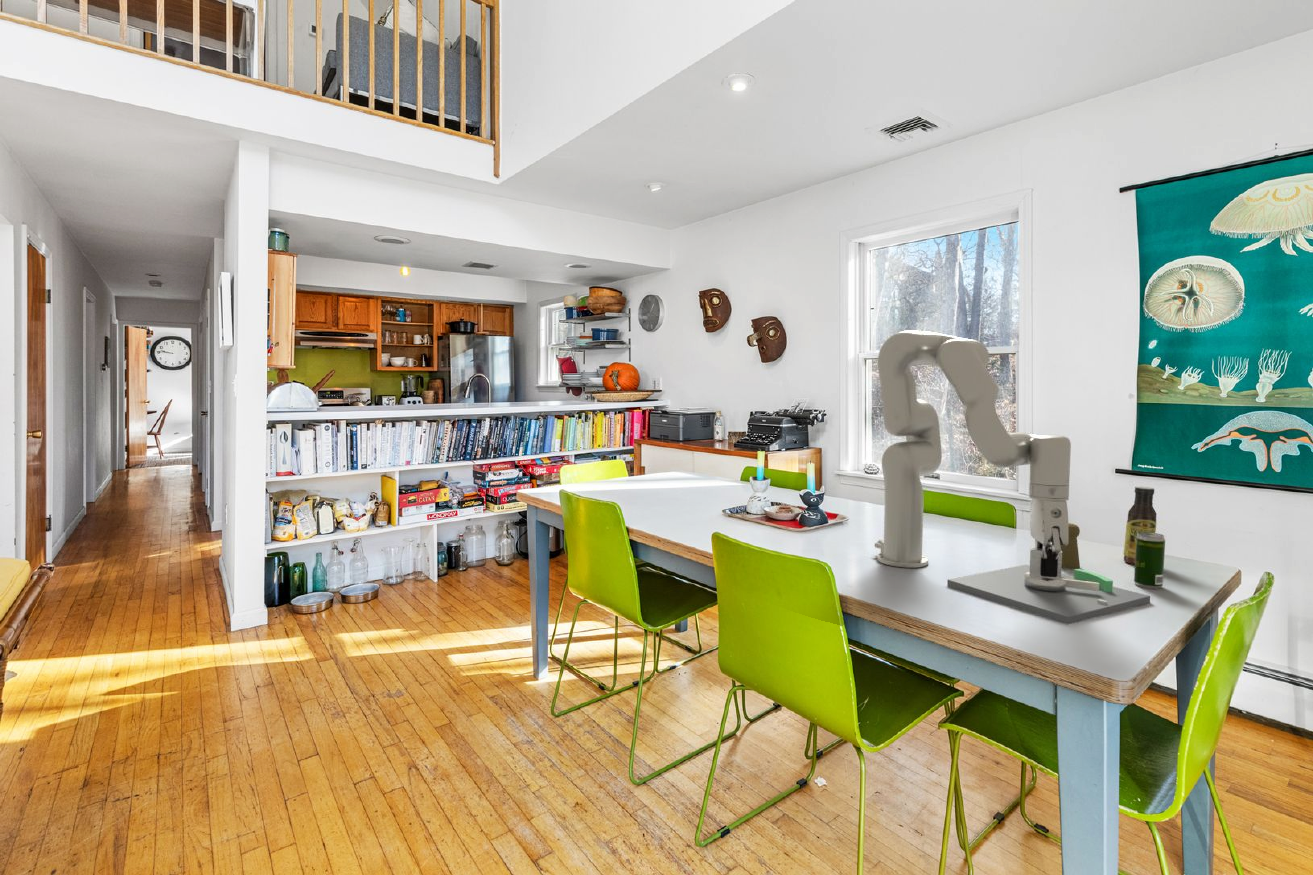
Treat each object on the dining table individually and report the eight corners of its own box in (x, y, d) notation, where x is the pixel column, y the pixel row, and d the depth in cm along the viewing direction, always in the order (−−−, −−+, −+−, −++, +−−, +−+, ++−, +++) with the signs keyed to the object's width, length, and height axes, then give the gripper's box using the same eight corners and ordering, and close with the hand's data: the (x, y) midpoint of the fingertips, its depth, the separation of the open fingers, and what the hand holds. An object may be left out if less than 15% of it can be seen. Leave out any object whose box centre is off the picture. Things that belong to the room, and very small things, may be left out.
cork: (1084, 569, 167) (1086, 526, 166) (1057, 568, 168) (1059, 525, 167) (1074, 563, 173) (1076, 521, 172) (1048, 562, 174) (1050, 520, 173)
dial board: (947, 585, 154) (947, 569, 154) (1025, 570, 166) (1026, 555, 166) (1068, 624, 129) (1069, 604, 129) (1149, 602, 141) (1150, 584, 141)
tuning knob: (1023, 587, 146) (1025, 551, 145) (1024, 578, 153) (1025, 544, 152) (1100, 597, 139) (1101, 560, 138) (1097, 587, 146) (1099, 551, 145)
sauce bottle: (1126, 565, 171) (1130, 488, 169) (1120, 559, 177) (1124, 485, 175) (1157, 567, 168) (1161, 489, 167) (1149, 561, 174) (1154, 486, 173)
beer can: (1167, 587, 152) (1170, 535, 151) (1154, 590, 150) (1157, 537, 149) (1142, 581, 157) (1144, 530, 156) (1128, 584, 155) (1131, 533, 154)
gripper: (1083, 498, 137) (1079, 585, 138) (1054, 486, 153) (1050, 565, 154) (1042, 497, 139) (1039, 583, 140) (1018, 485, 155) (1015, 563, 156)
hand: (1045, 573), depth 147 cm, fingers closed on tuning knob, 3 cm apart
